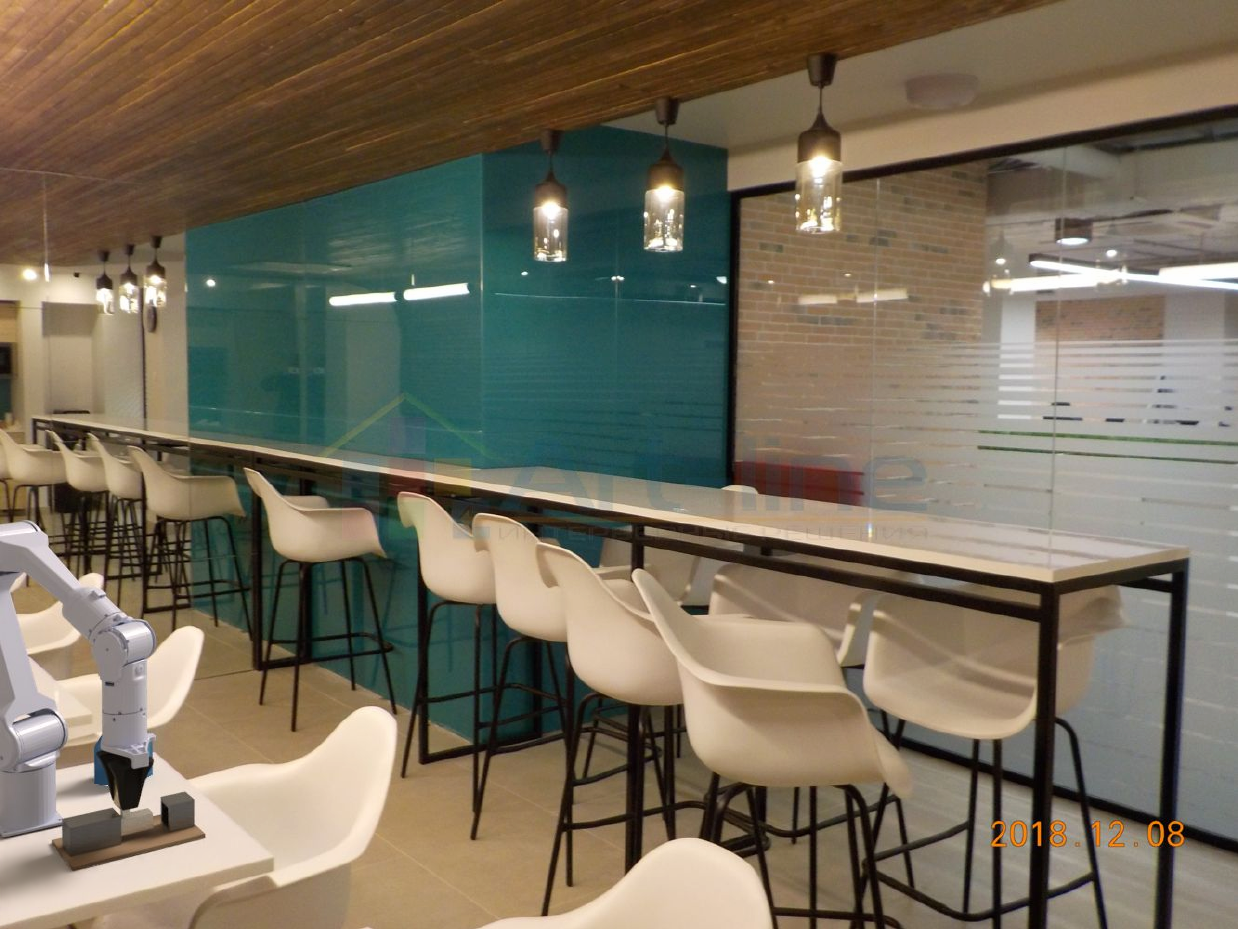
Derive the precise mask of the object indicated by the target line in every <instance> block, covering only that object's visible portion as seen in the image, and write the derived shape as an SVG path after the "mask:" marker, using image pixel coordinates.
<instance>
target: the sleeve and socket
mask: <svg viewBox="0 0 1238 929" xmlns="http://www.w3.org/2000/svg"><path fill="white" fill-rule="evenodd" d="M195 802H196V801H195V798H193V797H192V796H191V795H190V794H189V793H187V791H182V792H178V793H177V792H176V793H172V794H168V795H163V796H160V814H161V825H162V826H163V827H164V828H165V829H166V830H167V831H169V832H170V833H171V832H175V831H179V830H183V829H187V828H191V827H195V825H196V824H195V822H196V819H195V816H196V815H195V814H196V812H195V811H196V807H195V805H196V803H195ZM61 830H62V831H61V837H62V847H63V849H64V850H65V851H66V853H67V854H68V855H69V857H73V856H77V855H81V854H85V853H89V852H93V851H97V850H101V849H105V848H109V847H114V846H118V845H121V816H120V813H118V811H117V810H116V809H115V808H114V807H108V808H105V809H100V810H95V811H92V812H86V813H82V814H78V815H72V816H68V817H64V818H63V819H62V825H61Z"/></svg>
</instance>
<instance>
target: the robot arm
mask: <svg viewBox="0 0 1238 929" xmlns="http://www.w3.org/2000/svg"><path fill="white" fill-rule="evenodd" d="M49 544H50V543H49V536H48V534H47V533H45V532H44V531H42V530H41V528H40V527H39V526H38V525H37V524H36V523H35V522H34V521H32V520H28V519H27V520H20V521H17V522H8V523H2V524H0V835H1V837H2V838H8V837H9V838H10V837H12V836H13V837H14V836H17V835H21V834H26V833H31V832H35V831H40V830H44V829H49V828H53V827H57V826H62V819H64V818H63V816H62V815H61V814H60V813H59V812H58V810H57V789H56V788H57V783H56V782H57V780H56V779H57V778H56V776H57V775H56V772H57V771H56V768H57V766H56V760H57V759H58V758H60V757H61V756H60V752H61V750H62V749H63V748H64V747H65V746H66V744H67V742H68V739H69V727H68V724H67V720H65V718H64V716H62V714H61V713H60V711H59V709H58V707H57V703H56V701H55V699H54V698H51V697H49V696H48V695H45V694H44V693H41V692H39V691H38V687H37V684H36V681H35V680H36V679H35V677H34V674H33V673H34V672H33V670H32V666H31V662H30V659H29V654H28V652H27V649H26V648H27V647H26V645H25V641H24V637H23V633H22V630H21V627H20V623H19V619H18V616H17V612H16V608H15V605H14V602H13V598H12V594H11V588H12V587H13V585H14V583H15V582H16V580H18V579H19V578H20V577H21V576H22V575H24V574H26V575H27V576H28V577H29V578H31V579H32V580H33V581H34V582H36V583H37V584H38V585H40V586H41V587H42V588H43V589H44V590H46V592H48V593H49V594H50V595H51V596H53V597H54V598H55V599H56V600H58V601H59V602H60V603H62V605H61V606H62V608H61V613H62V614H61V615H62V617H63V618H64V619H65V620H66V621H67V622H68V623H69V624H70V625H71V626H72V627H73V628H74V629H75V630H76V631H77V632H79V634H80V635H81V636H82V637H84V639H85V640H87V642H89V644H91V647H90V652H91V656H92V659H93V660H94V662H95V664H96V666H97V671H98V675H97V676H98V677H99V679H100V681H101V729H102V730H101V735H102V740H101V749H102V750H101V751H98V752H97V753H96V755H97V757H98V758H99V760H100V762H101V764H102V766H103V768H104V771H105V774H106V777H107V781H108V786H107V787H108V789H109V793H110V796H111V797H110V798H111V800H112V801H113V802H114V779H115V782H116V786H117V791H118V798H119V804H120V807H121V809H122V810H123V811H125V810H129V809H130V810H134V809H137V808H139V806H140V802H141V797H142V795H143V789H144V785H145V783H146V780H147V778H146V777H147V775H148V773H149V771H150V769H151V768H152V766H153V767H154V763H155V758H154V757H153V758H152V757H151V756H150V757H149V752H148V751H147V748H148V743H149V742H152V741H153V742H155V741H157V735H156V734H155V733H153V732H148V659H149V658H150V657H151V656H153V655H154V652H155V651H156V647H157V637H156V634H155V631H154V628H153V627H152V626H151V625H150V624H149V623H148V621H146V620H145V619H142V618H141V619H139V618H133V617H132V616H128V615H127V614H126V613H125V612H123V611H122V610H121V608H119V607H117V605H115V603H113V601H111V600H110V599H109V597H107V593H106V592H105V591H104V589H102V588H97V587H95V586H86V587H85V586H83V585H82V583H81V582H80V581H79V580H78V579H77V578H76V576H74V574H73V573H72V572H71V571H70V570H69V569H68V568H67V566H66V565H65V564H64V563H63V562H62V561H61V559H60V558H59V557H58V556H57V555H56V554H55V553H54V552H53V551H52V549H51V548H50V547H49ZM23 716H28V717H25V718H21V719H19V720H16V719H18V718H20V717H23ZM15 720H16V721H15ZM147 732H148V733H147Z"/></svg>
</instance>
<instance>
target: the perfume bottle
mask: <svg viewBox="0 0 1238 929" xmlns="http://www.w3.org/2000/svg"><path fill="white" fill-rule="evenodd" d="M147 733H149V731H147ZM101 740H102V734H101V735H100V736H99V738H98V739H97V741H96V743H95V745H94V746H93V784H99V785H98V786H103V785H108V781H107V777H106V774H105V771H104V768H103V766H102V764H101V762H100V760H99V758H98V757H97V755H96V753H97V752H98V751H101V750H102V749H101ZM153 742H154V741H152V742H149V743H148V748H147V751H148V752H149V757H150V756H151V757H152V758H153V759H154V757H153V756H154V750H153V749H154V746H153V744H154V743H153ZM151 775H152V776H153V775H154V765H153V766H152V768H151V769H150V771H149V773H148V775H147V777H148V778H149V776H150V777H151ZM147 777H146V779H148V778H147Z"/></svg>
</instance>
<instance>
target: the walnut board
mask: <svg viewBox="0 0 1238 929" xmlns="http://www.w3.org/2000/svg"><path fill="white" fill-rule="evenodd" d="M205 838H206V833H205V832H204V831H203V830H202V829H201V828H200V827H198V826H197V825H196V824H195V827H191V828H187V829H183V830H179V831H175V832H171V833H170V832H169V831H167V830H166V829H165V828H164V827H163V826H162V825H161V813H160V814H156V815H153V828H151V829H147V830H143V831H139V832H135V833H130V834H126V835H122V836H121V845H118V846H114V847H109V848H105V849H101V850H97V851H93V852H89V853H85V854H81V855H77V856H73V857H69V855H68V854H67V853H66V851H65V850H64V849H63V847H62V836H61V837H58V838H53V839H51V844H52V845H53V846H54V848H55V849H56V850H57V852H58V854H59V855H60V856H61V857H62V859H63V860H64V861H65V863H66V862H67V863H66V864H67V865H68V866H69V868H70V869H71V871H73V872H74V871H78V870H82V869H86V868H89V867H94V866H93V865H95V866H98V865H97V864H99V865H102V864H106V863H110V862H113V861H117V860H121V859H126V858H130V857H134V856H137V855H141V854H145V853H149V852H153V851H156V850H157V849H158V850H160V849H161V850H162V849H165V848H169V847H173V846H178V845H181V844H185V843H189V842H193V841H196V840H197V841H198V840H200V839H205ZM101 863H102V864H101Z"/></svg>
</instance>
